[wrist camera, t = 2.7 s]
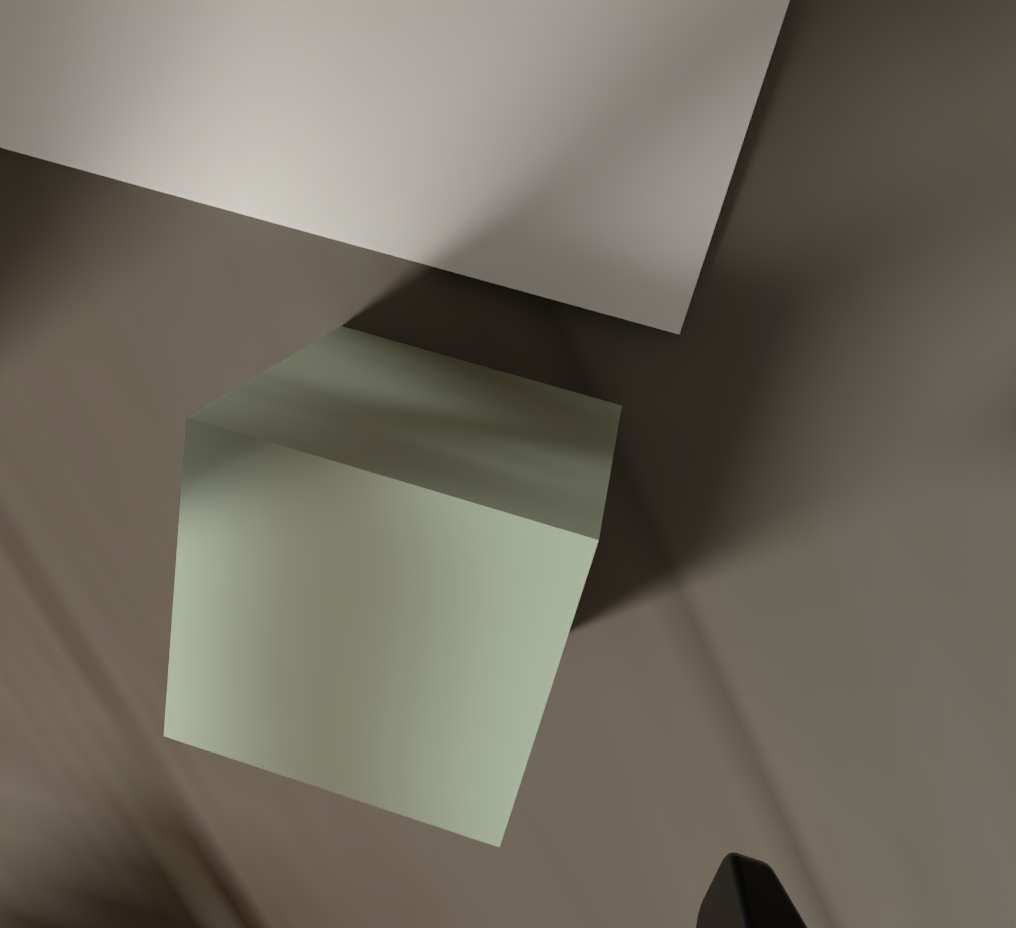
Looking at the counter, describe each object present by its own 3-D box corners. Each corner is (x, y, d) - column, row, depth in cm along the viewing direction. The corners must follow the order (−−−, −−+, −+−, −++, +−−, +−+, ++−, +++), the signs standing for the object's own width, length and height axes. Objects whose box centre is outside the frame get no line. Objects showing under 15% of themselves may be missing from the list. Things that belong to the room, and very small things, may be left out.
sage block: (622, 404, 14) (598, 540, 9) (548, 639, 16) (499, 847, 11) (343, 325, 14) (186, 416, 9) (307, 565, 16) (163, 735, 11)
